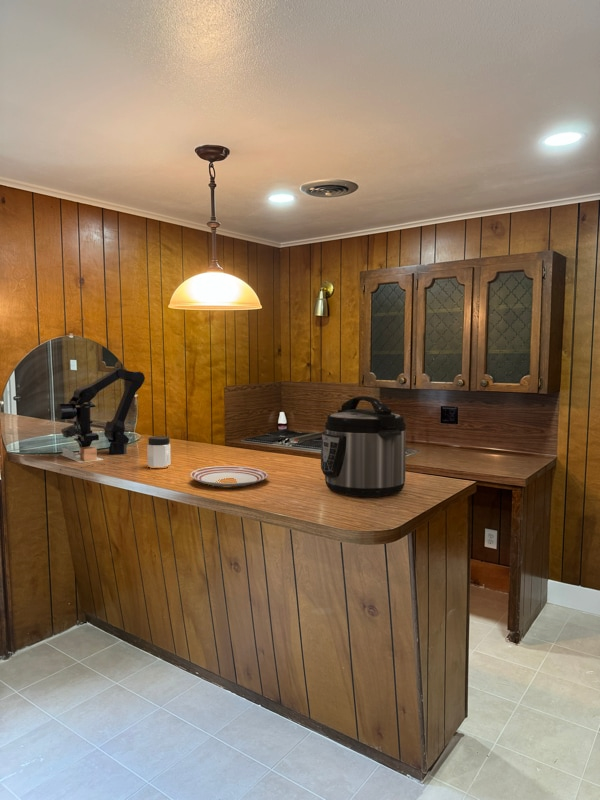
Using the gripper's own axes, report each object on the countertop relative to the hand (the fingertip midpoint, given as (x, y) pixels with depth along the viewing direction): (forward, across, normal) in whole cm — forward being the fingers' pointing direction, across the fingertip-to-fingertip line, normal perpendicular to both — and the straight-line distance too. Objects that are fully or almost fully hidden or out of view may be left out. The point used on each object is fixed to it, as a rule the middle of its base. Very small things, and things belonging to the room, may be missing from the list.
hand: (83, 455), depth 232 cm
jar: (+3, +30, +19) cm, 36 cm away
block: (+1, +6, 0) cm, 6 cm away
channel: (+2, -3, 0) cm, 4 cm away
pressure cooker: (+3, +108, +54) cm, 121 cm away
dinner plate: (+3, +69, +26) cm, 74 cm away
